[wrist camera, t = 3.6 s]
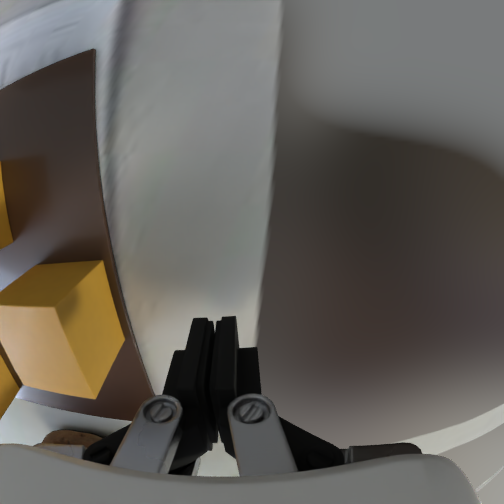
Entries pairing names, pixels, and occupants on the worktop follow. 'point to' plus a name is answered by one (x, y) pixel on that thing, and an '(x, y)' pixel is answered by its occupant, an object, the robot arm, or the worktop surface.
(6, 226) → the ochre block
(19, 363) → the ochre block
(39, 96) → the mat
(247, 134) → the worktop surface
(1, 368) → the ochre block
